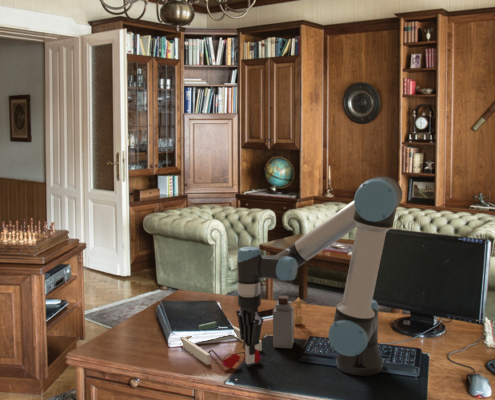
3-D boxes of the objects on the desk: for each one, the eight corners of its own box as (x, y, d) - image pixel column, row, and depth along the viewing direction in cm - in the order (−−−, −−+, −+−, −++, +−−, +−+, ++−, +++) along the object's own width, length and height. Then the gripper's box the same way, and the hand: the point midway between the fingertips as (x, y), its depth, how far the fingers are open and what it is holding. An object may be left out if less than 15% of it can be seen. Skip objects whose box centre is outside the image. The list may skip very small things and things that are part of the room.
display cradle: (261, 350, 200) (261, 332, 199) (207, 365, 188) (206, 346, 187) (232, 333, 217) (232, 317, 216) (180, 346, 205) (180, 329, 204)
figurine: (307, 322, 228) (307, 294, 227) (309, 327, 222) (309, 298, 221) (287, 323, 228) (286, 294, 226) (288, 328, 222) (288, 299, 221)
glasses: (223, 371, 183) (223, 356, 183) (207, 353, 198) (207, 339, 198) (262, 364, 189) (262, 349, 188) (243, 347, 204) (243, 333, 203)
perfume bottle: (291, 348, 201) (291, 300, 199) (273, 347, 203) (272, 299, 200) (293, 341, 208) (293, 294, 206) (276, 340, 209) (275, 294, 207)
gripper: (270, 296, 179) (270, 366, 182) (247, 287, 190) (248, 353, 193) (250, 300, 175) (251, 372, 178) (229, 291, 186) (230, 358, 189)
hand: (250, 362), depth 186 cm, fingers closed
